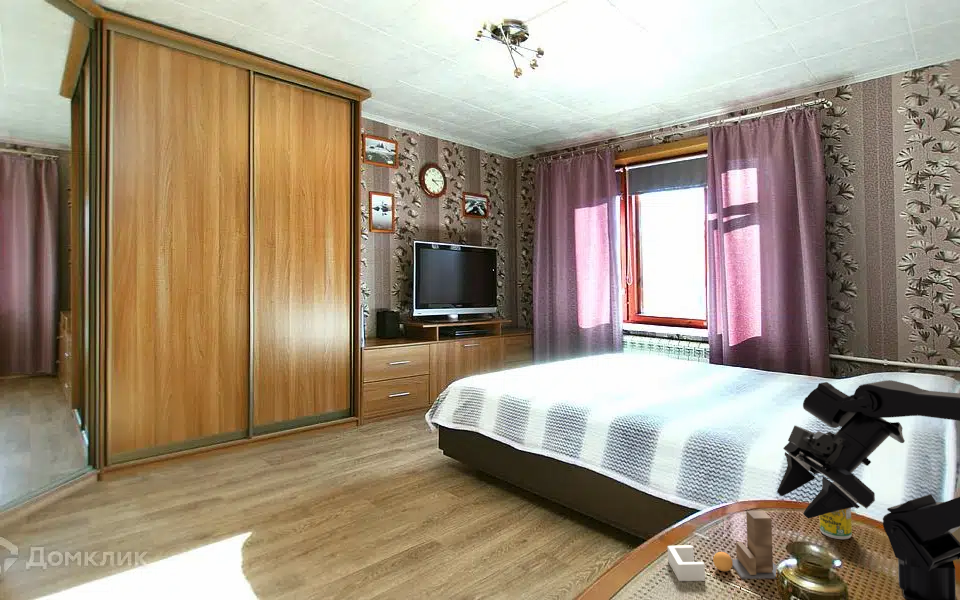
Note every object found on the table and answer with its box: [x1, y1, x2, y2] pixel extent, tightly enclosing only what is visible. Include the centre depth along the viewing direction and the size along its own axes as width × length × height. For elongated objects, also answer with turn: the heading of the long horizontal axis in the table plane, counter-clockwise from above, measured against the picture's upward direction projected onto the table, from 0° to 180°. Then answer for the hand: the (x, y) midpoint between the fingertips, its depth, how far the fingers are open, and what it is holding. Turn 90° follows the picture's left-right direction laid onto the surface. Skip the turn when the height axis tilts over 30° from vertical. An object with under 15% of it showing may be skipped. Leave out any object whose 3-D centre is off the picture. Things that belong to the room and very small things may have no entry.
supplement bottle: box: [818, 508, 853, 540], centre depth 104 cm, size 5×5×10 cm
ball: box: [712, 551, 733, 572], centre depth 93 cm, size 3×3×3 cm
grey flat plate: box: [731, 558, 778, 580], centre depth 93 cm, size 8×6×1 cm
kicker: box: [735, 509, 774, 575], centre depth 93 cm, size 4×6×10 cm
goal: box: [667, 544, 706, 582], centre depth 94 cm, size 4×6×3 cm
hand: (791, 504), depth 92 cm, fingers open, 9 cm apart
